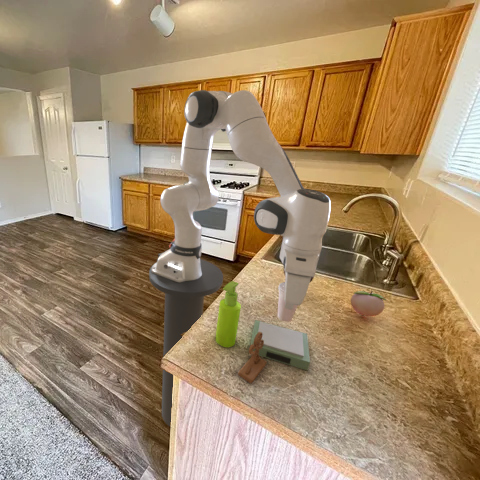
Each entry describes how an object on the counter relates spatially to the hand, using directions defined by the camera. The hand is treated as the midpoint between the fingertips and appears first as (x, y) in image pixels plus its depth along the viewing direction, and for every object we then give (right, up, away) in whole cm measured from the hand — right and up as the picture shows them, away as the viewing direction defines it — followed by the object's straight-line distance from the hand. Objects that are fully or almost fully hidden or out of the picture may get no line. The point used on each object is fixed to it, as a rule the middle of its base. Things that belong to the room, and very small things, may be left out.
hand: (288, 300), depth 72 cm
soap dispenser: (-16, -14, +8) cm, 23 cm away
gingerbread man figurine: (-11, -18, -2) cm, 21 cm away
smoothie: (0, -5, +2) cm, 6 cm away
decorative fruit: (+36, -10, +20) cm, 43 cm away
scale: (0, -15, +6) cm, 16 cm away
